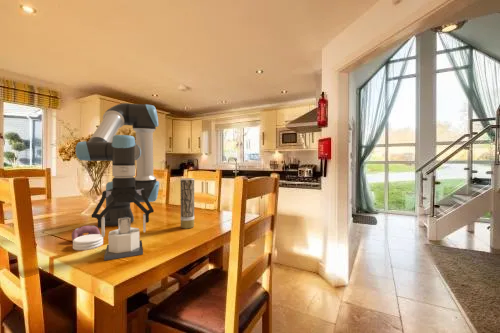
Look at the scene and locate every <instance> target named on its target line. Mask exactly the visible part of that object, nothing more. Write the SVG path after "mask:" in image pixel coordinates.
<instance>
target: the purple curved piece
mask: <svg viewBox="0 0 500 333" xmlns="http://www.w3.org/2000/svg"><path fill="white" fill-rule="evenodd" d="M85 234H87V235H90V234H100V235H101V232H100V228H98V226H96V225H84V226H80V227H77V228H75V229H74V230H73V231H72V232H71V239H72V241H73V240H74V239H75V238H77V237H80V236H84V235H85Z"/></svg>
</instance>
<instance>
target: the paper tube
mask: <svg viewBox="0 0 500 333" xmlns="http://www.w3.org/2000/svg"><path fill="white" fill-rule="evenodd" d="M194 227H195V178H193V177H183V178H182V177H181V178H180V228H182V229H192V228H194Z"/></svg>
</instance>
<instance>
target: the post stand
mask: <svg viewBox="0 0 500 333" xmlns="http://www.w3.org/2000/svg"><path fill="white" fill-rule="evenodd" d="M117 226H118V234H127V233H130V232H131V227H132V226H131V223H130V217H122V218H119V219H118V225H117ZM139 240H140V247H139V248H136V249H134V250H132V251H128V252H122V253H114V252H109V244H107V245H106V248H105V253H104V255H103V256H104V258H103V259H104V261H110V260H116V259H122V258H129V257H135V256H140V255H141V256H142V255H144V247H143V240H142V239H139Z"/></svg>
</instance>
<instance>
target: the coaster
mask: <svg viewBox="0 0 500 333" xmlns="http://www.w3.org/2000/svg"><path fill="white" fill-rule="evenodd" d="M83 235H84V236H80V237H77V238H75V239H74V240H72V249H73V250H75V251H87V250H93V249H97V248H100V247H102V245H104V237H102V235H101V233H100V234H90V235H88V234H83Z"/></svg>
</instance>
